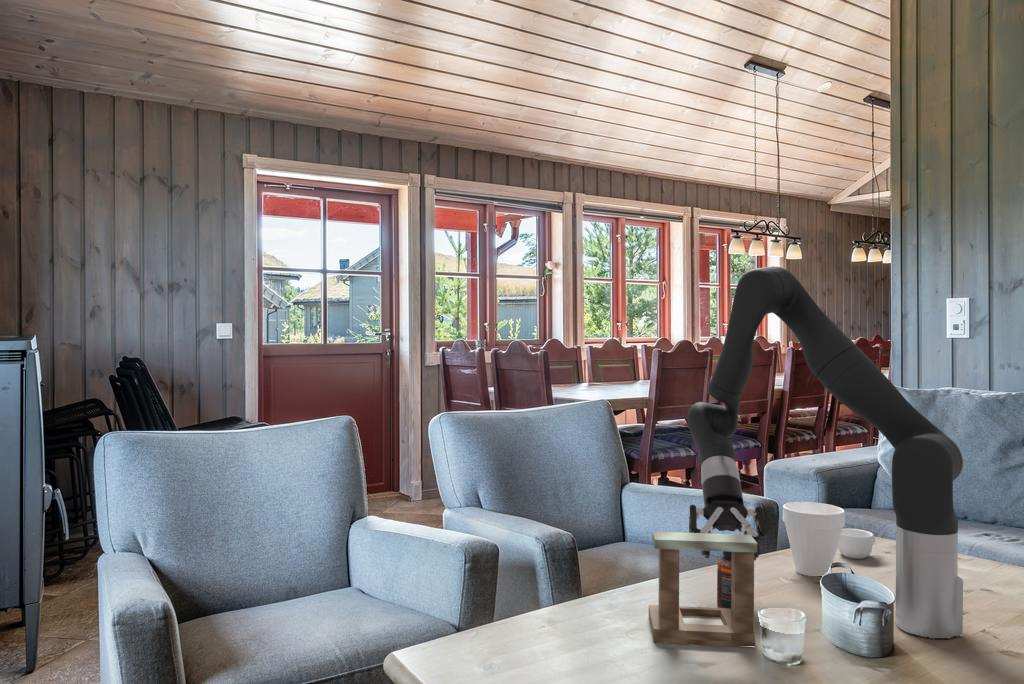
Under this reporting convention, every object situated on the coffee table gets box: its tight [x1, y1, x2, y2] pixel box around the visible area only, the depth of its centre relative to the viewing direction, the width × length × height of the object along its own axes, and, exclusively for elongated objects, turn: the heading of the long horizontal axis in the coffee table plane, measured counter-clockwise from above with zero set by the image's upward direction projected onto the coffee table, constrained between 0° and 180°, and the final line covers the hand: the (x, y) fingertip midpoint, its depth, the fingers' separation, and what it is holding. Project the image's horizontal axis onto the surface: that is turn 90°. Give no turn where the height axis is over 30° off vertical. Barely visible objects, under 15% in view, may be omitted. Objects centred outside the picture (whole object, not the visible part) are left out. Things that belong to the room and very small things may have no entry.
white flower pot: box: [782, 501, 846, 577], centre depth 157 cm, size 12×12×14 cm
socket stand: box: [648, 531, 757, 648], centre depth 124 cm, size 16×12×17 cm
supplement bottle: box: [716, 551, 731, 609], centre depth 134 cm, size 6×6×11 cm
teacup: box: [837, 528, 876, 560], centre depth 169 cm, size 10×8×5 cm
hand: (731, 557), depth 137 cm, fingers open, 8 cm apart
